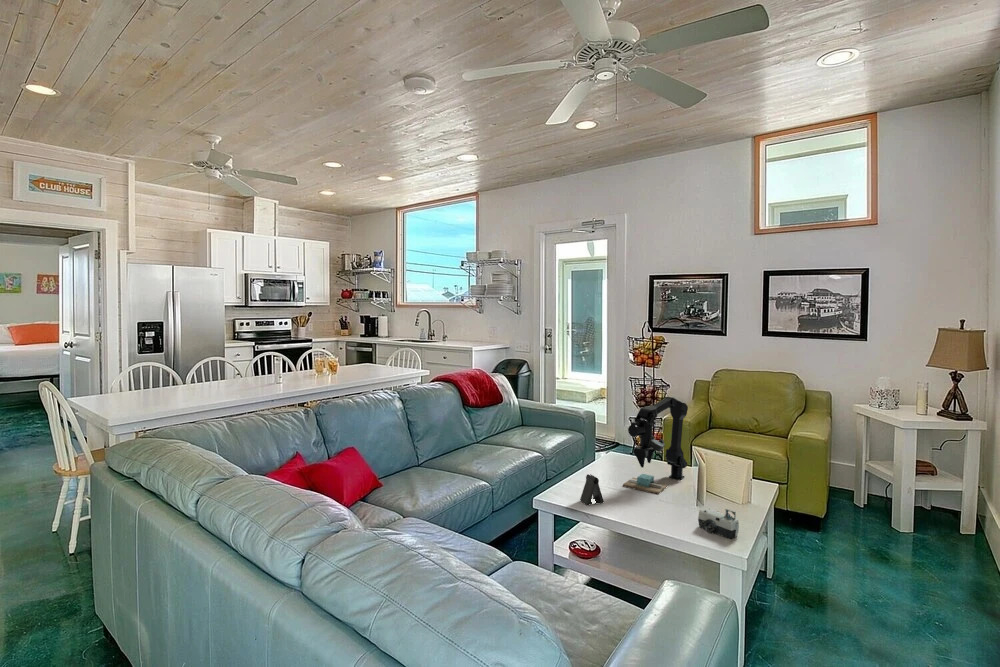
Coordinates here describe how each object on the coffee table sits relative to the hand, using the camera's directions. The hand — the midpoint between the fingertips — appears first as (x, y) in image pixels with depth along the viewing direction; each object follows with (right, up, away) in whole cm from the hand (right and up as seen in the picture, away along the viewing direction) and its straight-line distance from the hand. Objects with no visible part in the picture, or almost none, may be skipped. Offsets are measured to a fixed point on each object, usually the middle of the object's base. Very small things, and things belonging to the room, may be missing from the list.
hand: (645, 465), depth 252 cm
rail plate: (0, -11, +1) cm, 11 cm away
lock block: (0, -10, +1) cm, 10 cm away
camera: (+14, -14, -50) cm, 54 cm away
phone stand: (-30, -12, -20) cm, 38 cm away
